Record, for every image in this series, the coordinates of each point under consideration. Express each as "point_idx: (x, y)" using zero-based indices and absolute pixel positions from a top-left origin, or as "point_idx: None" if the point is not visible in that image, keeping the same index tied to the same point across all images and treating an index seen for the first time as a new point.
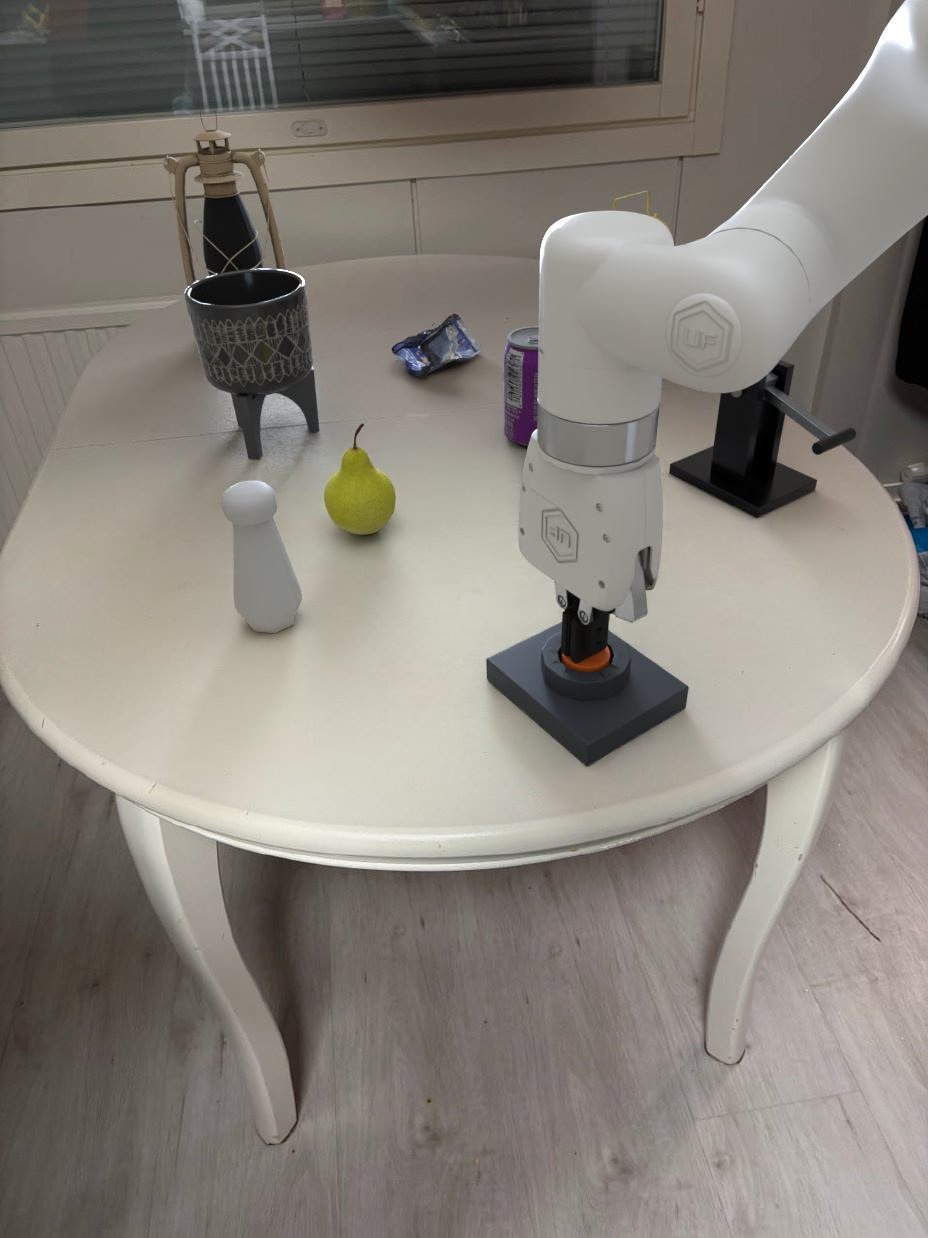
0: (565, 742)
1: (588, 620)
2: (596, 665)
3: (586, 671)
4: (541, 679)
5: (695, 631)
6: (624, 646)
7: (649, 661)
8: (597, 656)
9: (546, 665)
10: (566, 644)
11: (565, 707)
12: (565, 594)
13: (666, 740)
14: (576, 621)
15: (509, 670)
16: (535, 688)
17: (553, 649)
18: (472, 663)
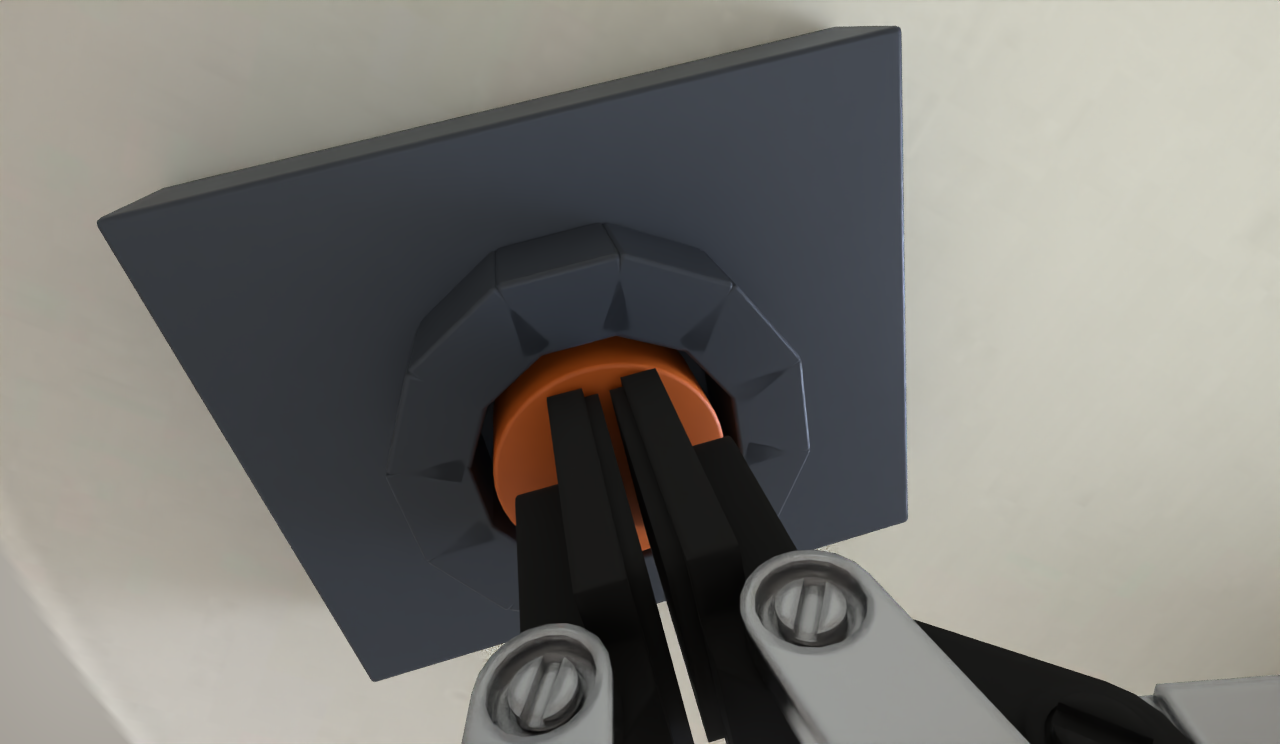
0: (292, 160)
1: (474, 703)
2: (500, 476)
3: (503, 419)
4: (634, 218)
5: (688, 720)
6: None
7: None
8: None
9: (616, 258)
10: (633, 416)
11: (402, 237)
12: (807, 697)
13: (251, 505)
14: (584, 595)
15: (764, 101)
16: (587, 162)
17: (711, 342)
18: (957, 17)
